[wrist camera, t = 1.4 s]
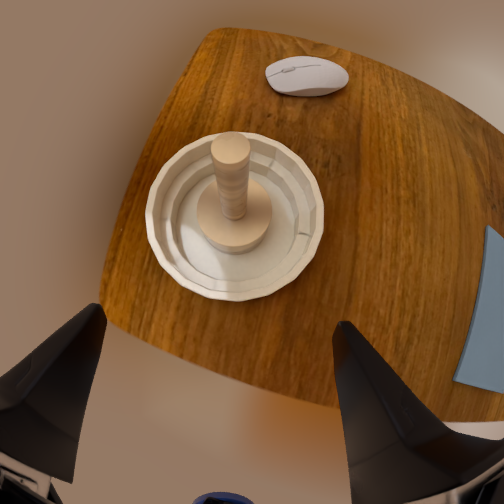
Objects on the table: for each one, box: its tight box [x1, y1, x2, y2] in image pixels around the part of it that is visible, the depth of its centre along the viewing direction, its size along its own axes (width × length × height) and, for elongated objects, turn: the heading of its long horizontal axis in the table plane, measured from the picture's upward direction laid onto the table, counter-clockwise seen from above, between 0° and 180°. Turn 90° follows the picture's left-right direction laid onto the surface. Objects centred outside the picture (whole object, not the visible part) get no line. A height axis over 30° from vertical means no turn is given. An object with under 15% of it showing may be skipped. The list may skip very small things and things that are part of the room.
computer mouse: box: [266, 56, 348, 96], centre depth 26 cm, size 6×10×3 cm, turn 101°
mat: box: [453, 225, 504, 393], centre depth 23 cm, size 20×14×1 cm
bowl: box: [145, 132, 324, 302], centre depth 22 cm, size 13×13×4 cm
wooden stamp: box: [196, 132, 272, 255], centre depth 17 cm, size 6×6×12 cm
